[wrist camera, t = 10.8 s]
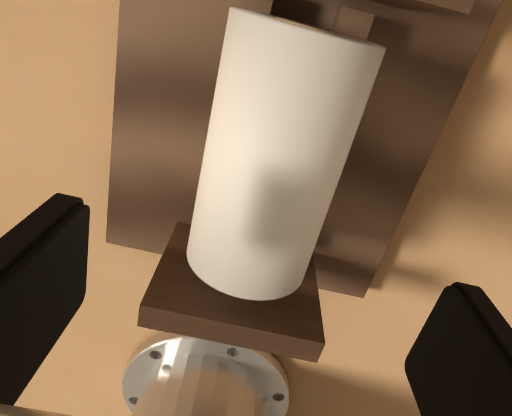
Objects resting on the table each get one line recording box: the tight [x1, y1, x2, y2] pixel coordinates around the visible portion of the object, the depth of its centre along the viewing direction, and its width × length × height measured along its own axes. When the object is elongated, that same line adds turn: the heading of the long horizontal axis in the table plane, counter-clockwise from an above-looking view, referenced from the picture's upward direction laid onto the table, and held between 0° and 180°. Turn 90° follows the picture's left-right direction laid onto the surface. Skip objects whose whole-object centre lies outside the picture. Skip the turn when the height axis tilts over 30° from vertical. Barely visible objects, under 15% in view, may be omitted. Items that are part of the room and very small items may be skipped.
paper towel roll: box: [187, 7, 386, 301], centre depth 16 cm, size 10×6×6 cm, turn 167°
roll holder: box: [106, 0, 502, 363], centre depth 17 cm, size 18×16×8 cm
